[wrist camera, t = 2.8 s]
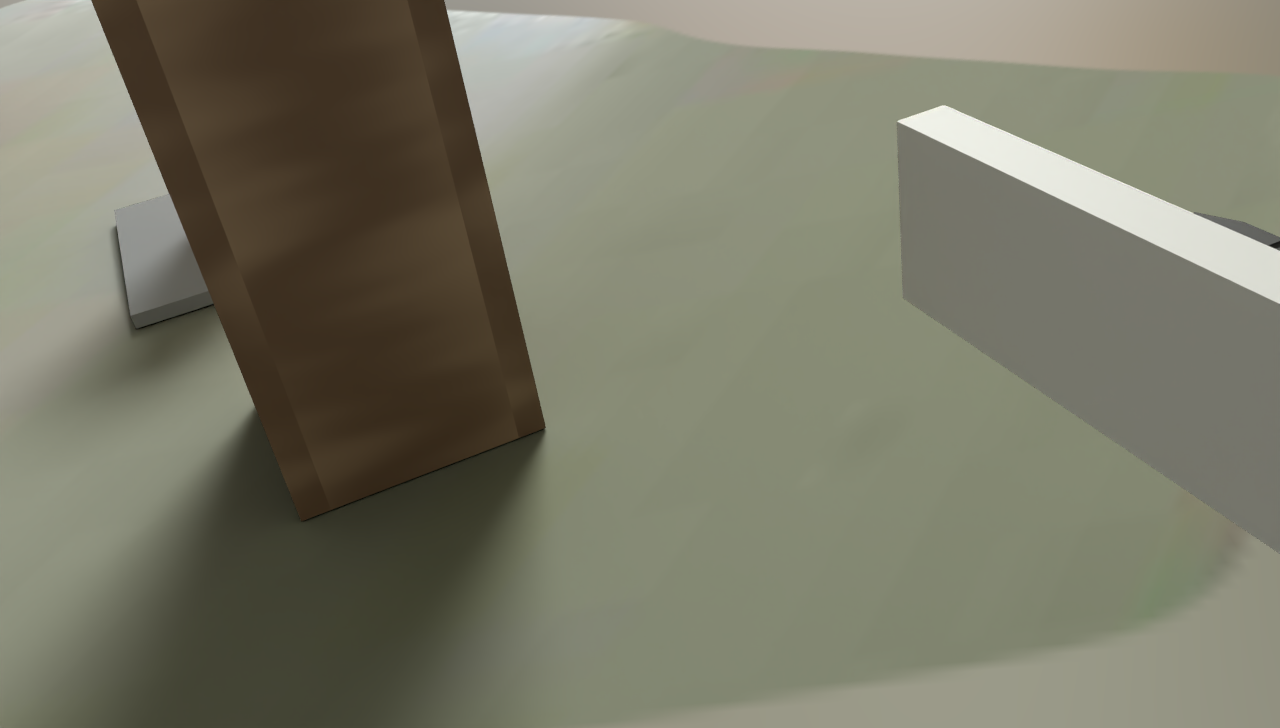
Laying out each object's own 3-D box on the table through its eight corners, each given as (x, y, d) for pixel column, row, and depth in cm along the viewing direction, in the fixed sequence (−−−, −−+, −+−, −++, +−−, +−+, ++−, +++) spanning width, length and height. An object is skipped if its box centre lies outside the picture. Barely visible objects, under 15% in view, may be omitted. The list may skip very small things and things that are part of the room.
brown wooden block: (301, 521, 23) (54, -93, 17) (261, 396, 27) (50, -135, 21) (546, 427, 24) (403, -171, 18) (471, 322, 28) (334, -195, 22)
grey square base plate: (136, 329, 31) (13, 56, 27) (119, 221, 37) (18, -12, 33) (424, 235, 33) (351, -30, 29) (362, 149, 39) (294, -79, 35)
